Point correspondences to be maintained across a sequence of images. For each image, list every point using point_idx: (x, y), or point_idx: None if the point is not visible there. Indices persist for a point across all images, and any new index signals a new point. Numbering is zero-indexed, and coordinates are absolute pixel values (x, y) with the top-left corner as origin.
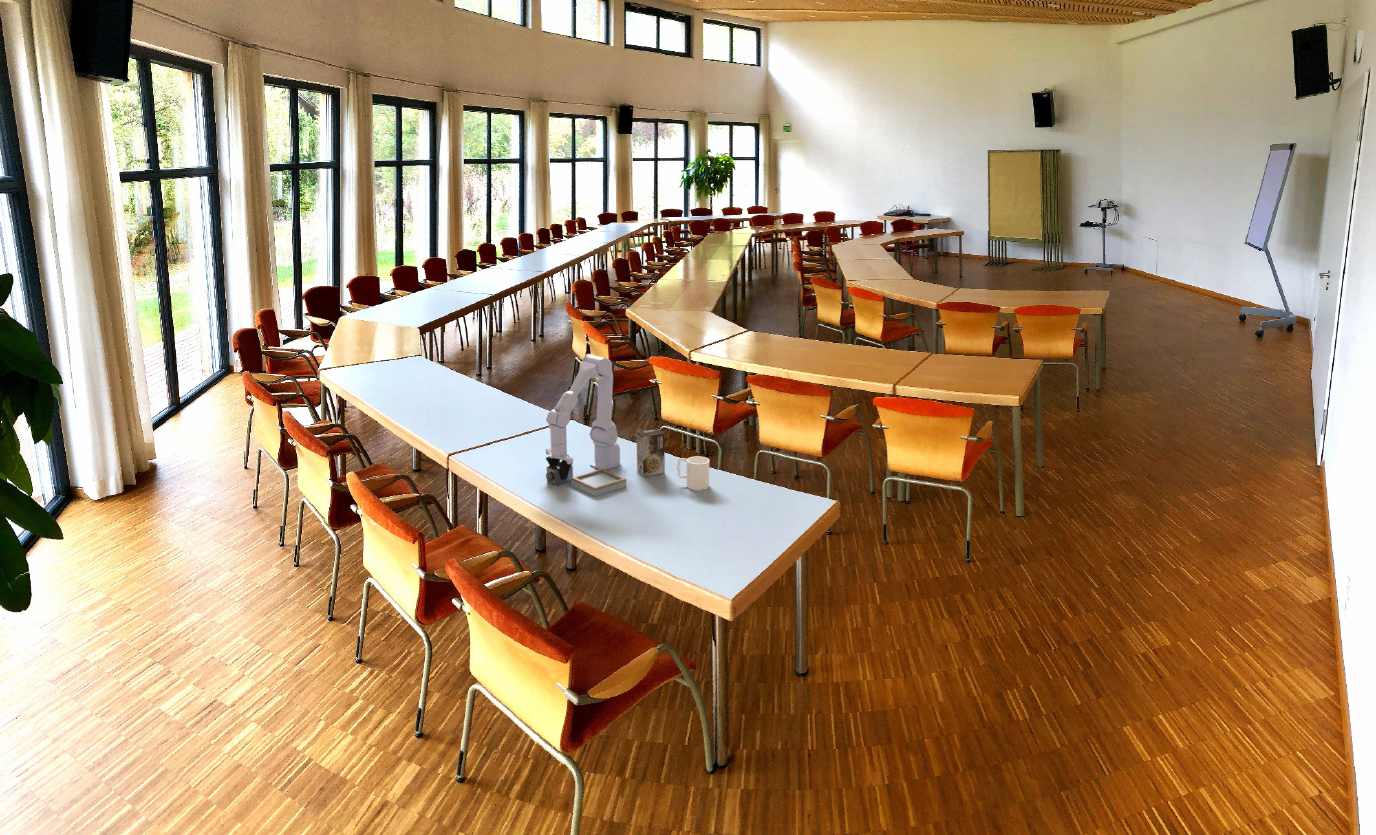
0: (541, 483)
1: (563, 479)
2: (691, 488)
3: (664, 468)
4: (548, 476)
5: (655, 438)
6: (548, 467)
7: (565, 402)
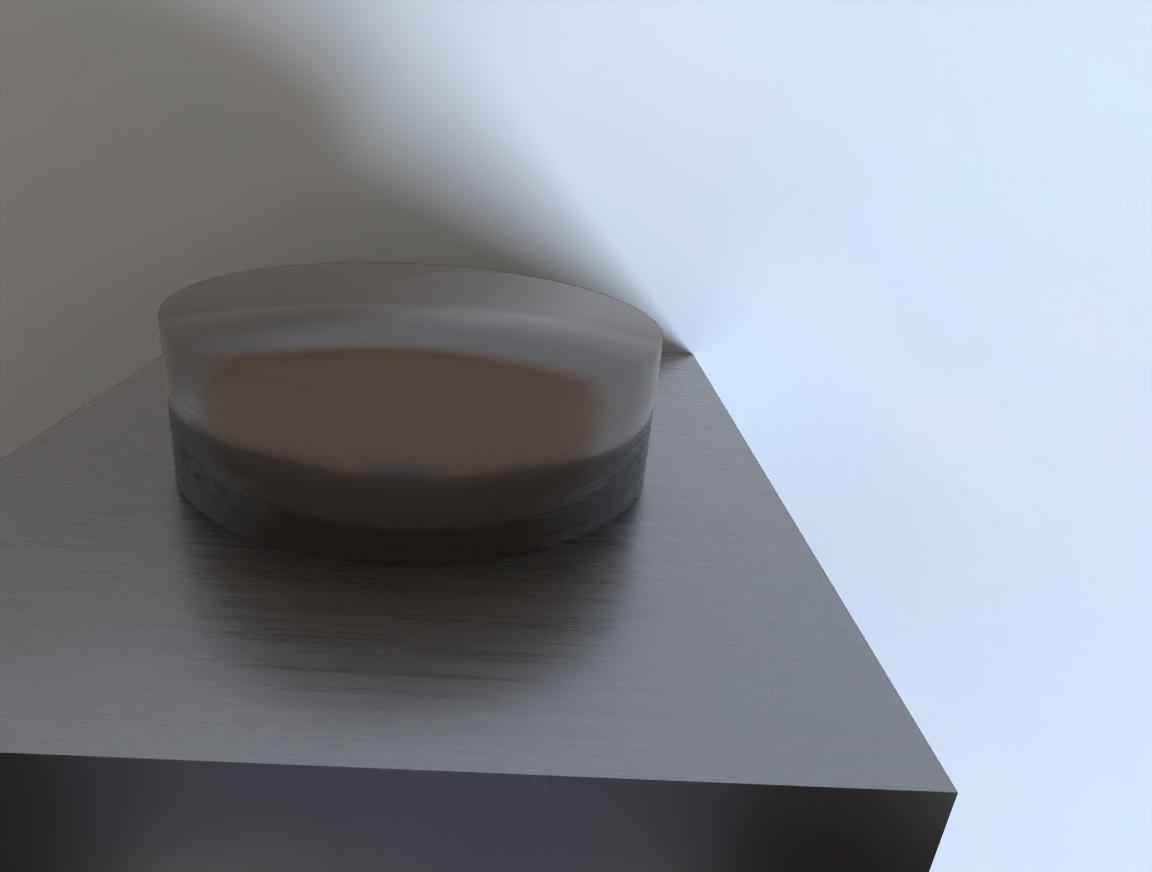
0: (747, 127)
1: None
2: None
3: None
4: (412, 313)
5: None
6: (677, 799)
7: None
